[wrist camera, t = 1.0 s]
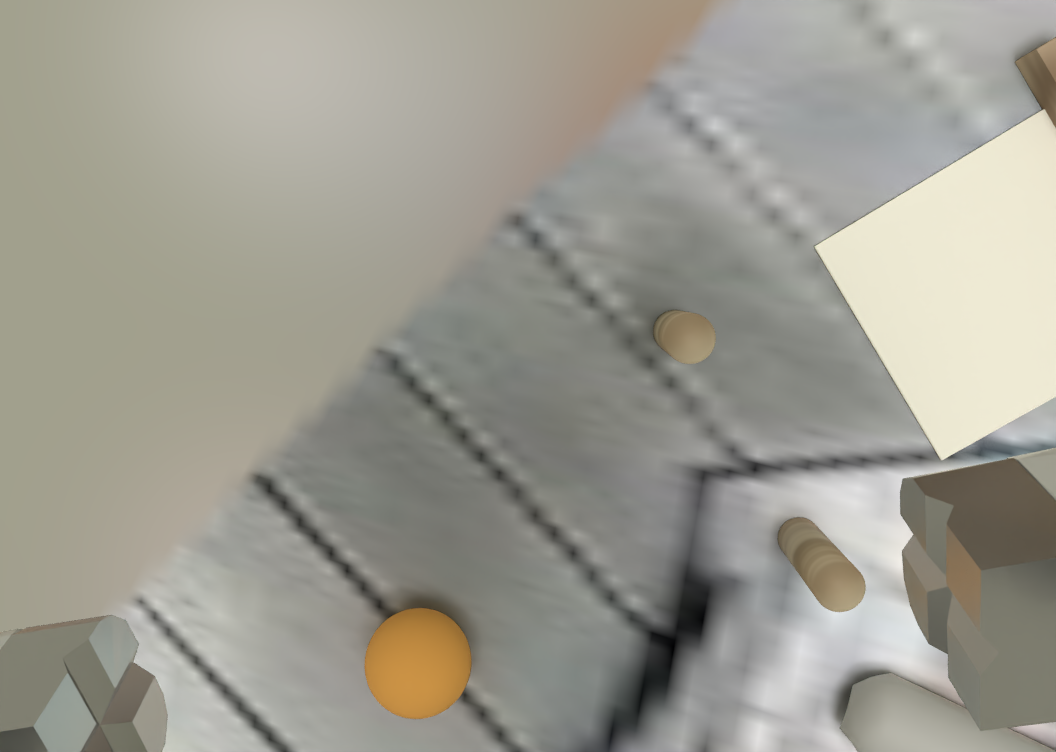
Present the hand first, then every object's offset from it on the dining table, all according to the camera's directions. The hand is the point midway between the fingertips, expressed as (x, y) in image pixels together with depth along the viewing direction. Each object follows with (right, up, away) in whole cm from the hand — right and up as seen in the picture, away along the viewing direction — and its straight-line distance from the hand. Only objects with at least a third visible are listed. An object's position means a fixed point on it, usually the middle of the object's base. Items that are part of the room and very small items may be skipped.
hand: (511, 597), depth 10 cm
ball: (-6, -14, +42) cm, 45 cm away
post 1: (+9, +5, +43) cm, 44 cm away
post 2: (+16, -7, +43) cm, 47 cm away
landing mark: (+26, +7, +41) cm, 49 cm away
